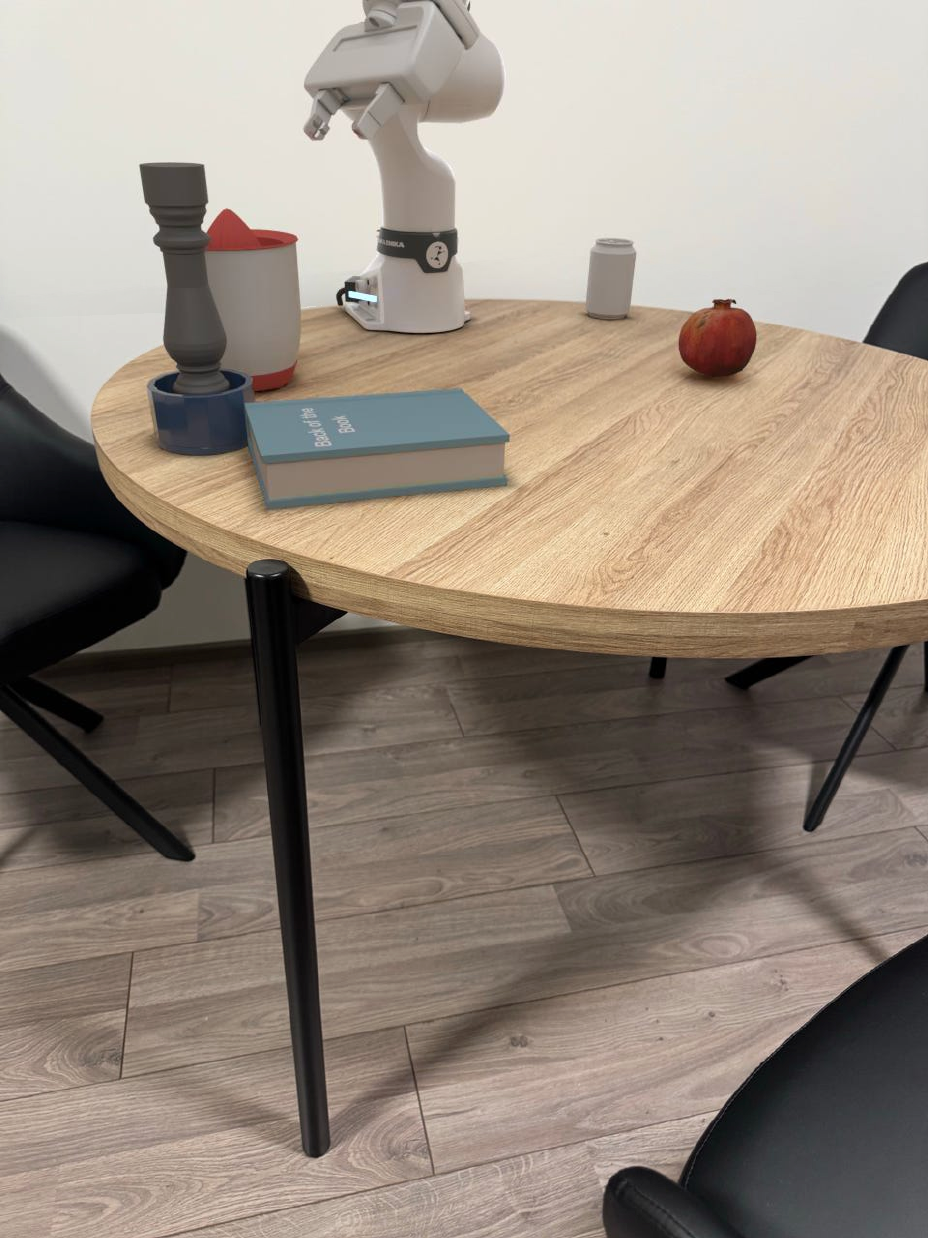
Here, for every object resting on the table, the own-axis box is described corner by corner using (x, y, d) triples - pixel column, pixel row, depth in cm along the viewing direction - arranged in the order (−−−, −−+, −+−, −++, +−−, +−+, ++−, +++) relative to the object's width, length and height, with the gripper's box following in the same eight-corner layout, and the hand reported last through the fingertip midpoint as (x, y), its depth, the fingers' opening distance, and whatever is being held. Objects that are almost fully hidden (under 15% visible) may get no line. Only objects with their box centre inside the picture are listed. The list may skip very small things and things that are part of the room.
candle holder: (174, 424, 94) (134, 161, 81) (233, 418, 96) (203, 161, 83) (179, 443, 89) (138, 167, 76) (241, 437, 91) (211, 167, 78)
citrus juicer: (293, 358, 121) (280, 198, 110) (319, 394, 107) (308, 215, 96) (175, 366, 116) (150, 200, 106) (187, 405, 102) (160, 217, 92)
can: (628, 321, 145) (637, 243, 139) (582, 318, 146) (589, 241, 140) (629, 312, 151) (638, 237, 145) (586, 309, 153) (593, 235, 146)
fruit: (718, 392, 111) (732, 310, 106) (657, 374, 118) (668, 296, 113) (767, 378, 117) (782, 300, 112) (706, 362, 124) (718, 288, 119)
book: (266, 509, 77) (261, 455, 75) (248, 447, 90) (243, 400, 88) (507, 485, 83) (509, 434, 81) (457, 430, 97) (458, 385, 94)
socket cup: (145, 430, 94) (136, 375, 91) (239, 416, 99) (233, 363, 96) (171, 461, 87) (162, 402, 84) (272, 445, 91) (266, 388, 88)
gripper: (333, -1, 90) (262, 113, 90) (450, -30, 76) (367, 105, 76) (374, 50, 95) (307, 159, 95) (492, 32, 80) (413, 159, 80)
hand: (334, 135), depth 85 cm, fingers open, 8 cm apart
